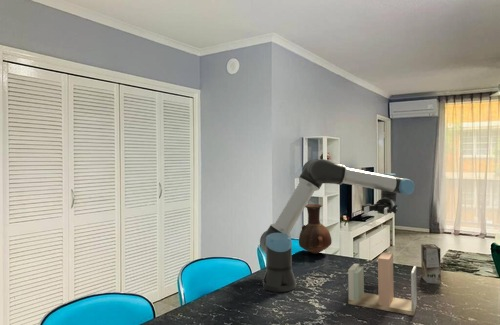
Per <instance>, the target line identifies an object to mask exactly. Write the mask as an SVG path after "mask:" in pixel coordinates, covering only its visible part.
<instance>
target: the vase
mask: <svg viewBox="0 0 500 325" xmlns="http://www.w3.org/2000/svg"><path fill="white" fill-rule="evenodd" d="M322 207H323V204H322V203H321V204H320V203H309V204H308V203H307V205H306V206H305V208H306V209H307V215H308V217H307V218H308V220H307V221H308V222H307V224H303V225H302V226H301V230H300V233H299V236H298V245H299V247H300V248H301V249H303V250H304V251H307V252H309V253H311V254H313V255H316V254H317V255H318V254H320V253H321V252H323V251H324V250H327V248H329V247H331V245H332V240H333V239H332V235H331V233H330V231H329V230H328V228H327V227H326V226H325V225H323V224H322V223H321V221H320V209H321V208H322Z"/></svg>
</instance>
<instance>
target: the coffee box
mask: <svg viewBox="0 0 500 325" xmlns="http://www.w3.org/2000/svg"><path fill="white" fill-rule="evenodd" d="M420 254H421V255H420V256H421V261H420V262H421V263H420V264H421V278H422V279H423V281H425V282H426V283H427V284H442V283H441V281H442V280H441V279H442V276H441V275H442V274H441V270H442V268H441V267H442V265H441V260H442V259H441V248H440V247H439V246H438V245H436V244H429V243H427V244H420Z"/></svg>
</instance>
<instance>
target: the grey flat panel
mask: <svg viewBox="0 0 500 325" xmlns="http://www.w3.org/2000/svg"><path fill="white" fill-rule="evenodd" d="M410 283H411V285H410V292H411V293H410V294H411V299H410V300H411V305H412V311H414V309H415V306H416V302H418V301H417V300H418V299H417V298H418V297H417V295H418V294H417V293H418V292H417V291H418V290H417V265H413V268H412V269H411V272H410ZM416 307H417V306H416Z"/></svg>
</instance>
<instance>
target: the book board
mask: <svg viewBox="0 0 500 325" xmlns="http://www.w3.org/2000/svg"><path fill="white" fill-rule="evenodd" d="M417 302H418V301H417ZM417 302H416V306H415V309H414V311H412V305H411V299H405V298H400V297H394V298H393V300H392V302H391V305H390V307H388V306H383V305H379V299H378V294H375V293H370V292H369V293H368V292H364V294H363V295H362V297H361V298H360V299H359V301H355V300H349V299H348V305H353V306H359V307H360V306H361V307H365V308H371V309H375V310H382V311H387V312H392V313H398V314H404V315H409V316H415V313H416V310H417V309H416V308H417V306H418V304H417Z"/></svg>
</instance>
